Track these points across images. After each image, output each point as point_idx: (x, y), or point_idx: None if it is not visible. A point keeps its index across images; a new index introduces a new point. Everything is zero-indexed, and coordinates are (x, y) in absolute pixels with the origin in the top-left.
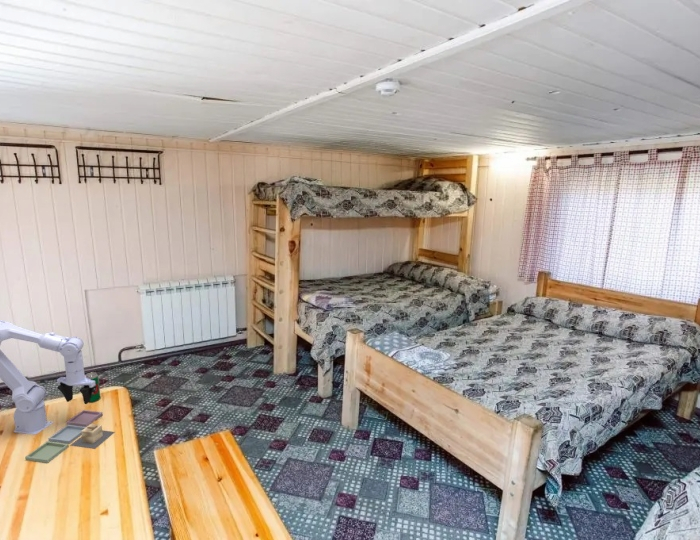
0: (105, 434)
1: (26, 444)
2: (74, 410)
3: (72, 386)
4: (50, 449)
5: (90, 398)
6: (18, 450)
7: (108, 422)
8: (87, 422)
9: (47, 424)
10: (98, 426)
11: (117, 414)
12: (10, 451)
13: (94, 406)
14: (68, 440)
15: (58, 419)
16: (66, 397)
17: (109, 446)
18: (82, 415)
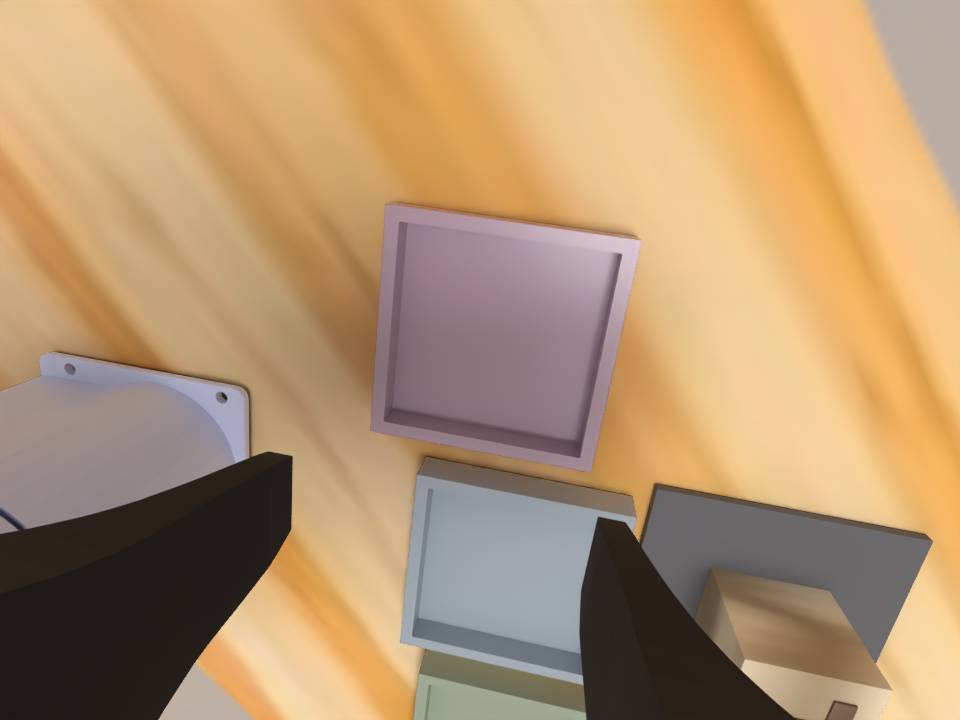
0: (845, 571)
1: (278, 629)
2: (264, 154)
3: (110, 568)
4: (492, 709)
5: (643, 555)
6: (282, 680)
7: (770, 364)
8: (586, 442)
9: (225, 430)
10: (864, 708)
11: (808, 201)
12: (243, 684)
13: (423, 41)
14: (580, 679)
15: (241, 325)
16: (236, 608)
17: (946, 700)
18: (424, 268)
